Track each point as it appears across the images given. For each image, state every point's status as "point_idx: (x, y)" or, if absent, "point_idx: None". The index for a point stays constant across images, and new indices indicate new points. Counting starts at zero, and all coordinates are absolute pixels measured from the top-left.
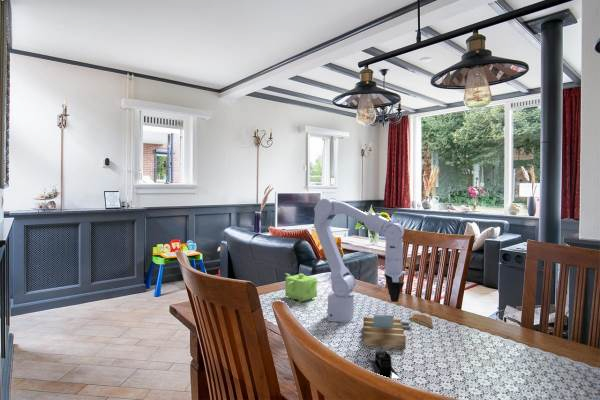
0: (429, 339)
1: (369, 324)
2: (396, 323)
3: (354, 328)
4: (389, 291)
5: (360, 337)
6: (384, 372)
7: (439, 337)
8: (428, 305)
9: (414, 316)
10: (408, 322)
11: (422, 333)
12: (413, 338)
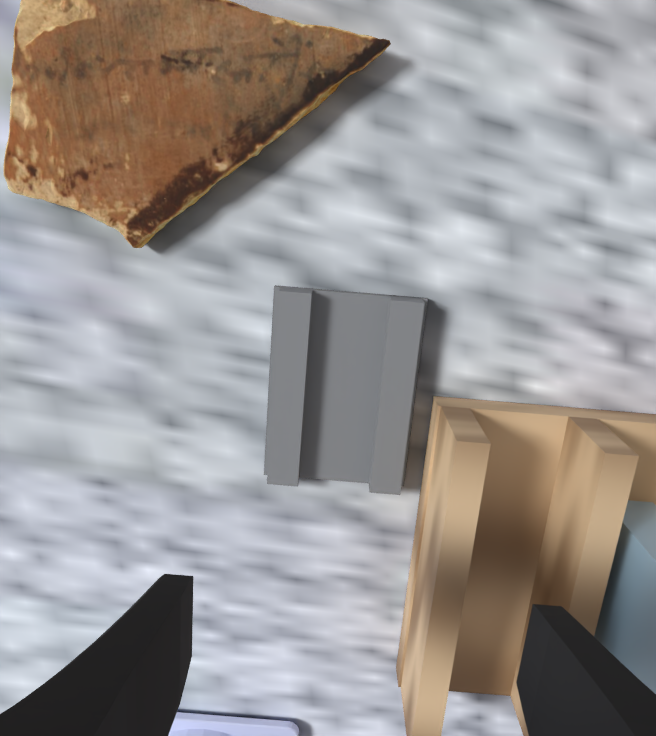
0: (641, 164)
1: None
2: (600, 503)
3: None
4: (175, 704)
5: None
6: None
7: (596, 38)
8: None
9: (95, 184)
10: (290, 294)
11: (494, 195)
12: (612, 312)
